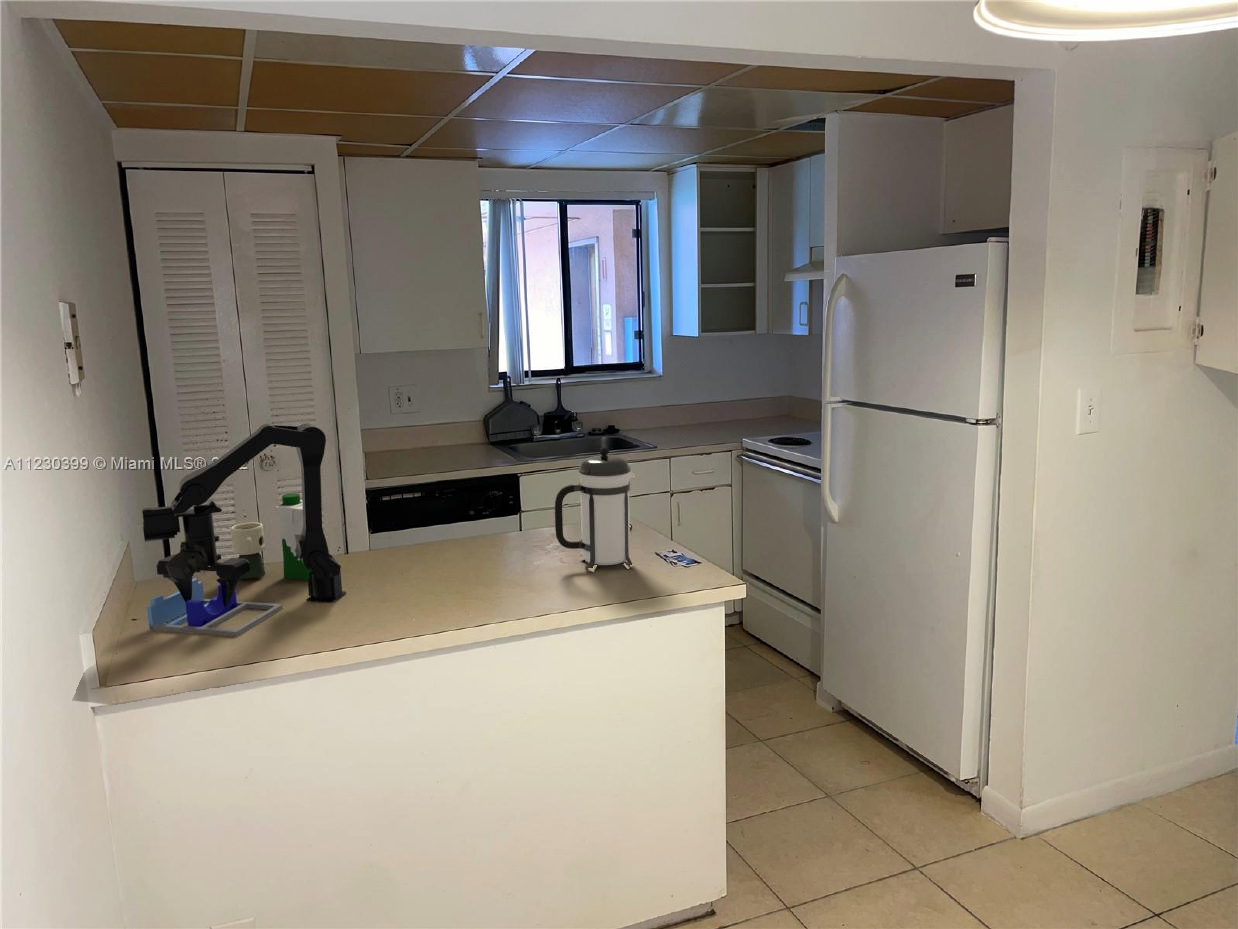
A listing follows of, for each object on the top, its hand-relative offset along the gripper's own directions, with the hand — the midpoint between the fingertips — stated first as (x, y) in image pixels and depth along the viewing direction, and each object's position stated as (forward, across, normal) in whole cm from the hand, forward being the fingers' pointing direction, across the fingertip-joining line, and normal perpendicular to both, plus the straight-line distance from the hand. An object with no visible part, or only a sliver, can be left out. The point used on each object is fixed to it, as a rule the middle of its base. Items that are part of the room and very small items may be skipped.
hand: (207, 604), depth 189 cm
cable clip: (+3, 0, 0) cm, 3 cm away
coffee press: (+3, +74, +50) cm, 90 cm away
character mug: (+3, -8, +26) cm, 27 cm away
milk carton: (+3, +4, +30) cm, 31 cm away
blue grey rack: (+3, +2, 0) cm, 4 cm away
